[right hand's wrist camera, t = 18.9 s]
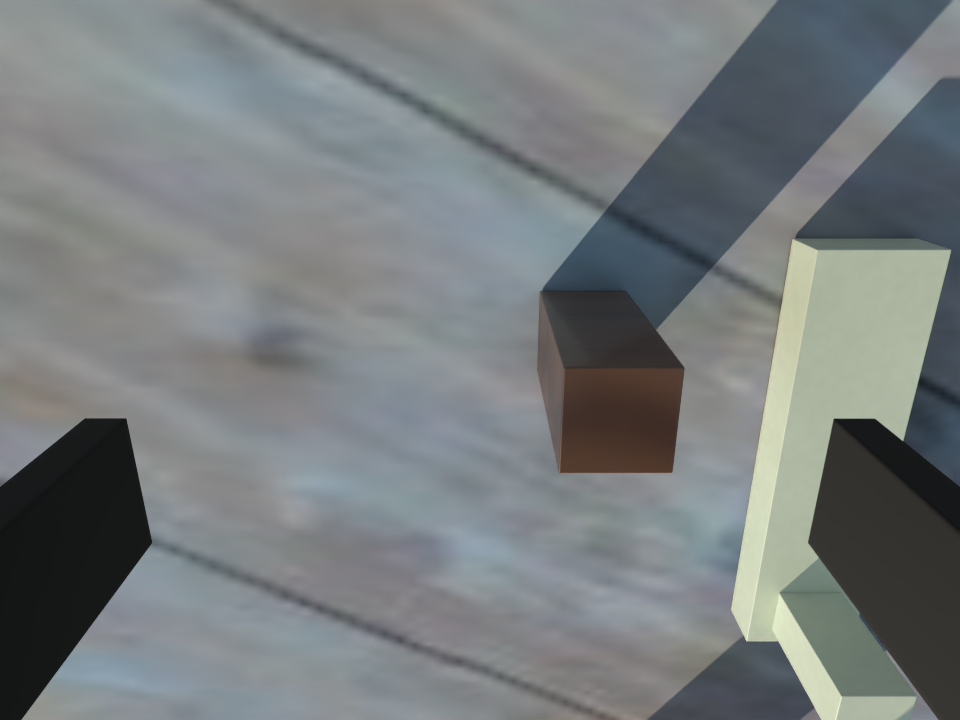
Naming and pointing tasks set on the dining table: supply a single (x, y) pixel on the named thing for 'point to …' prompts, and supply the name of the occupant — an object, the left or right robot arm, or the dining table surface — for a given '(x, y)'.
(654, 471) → the walnut block
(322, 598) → the dining table surface
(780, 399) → the pale green l-shaped block
